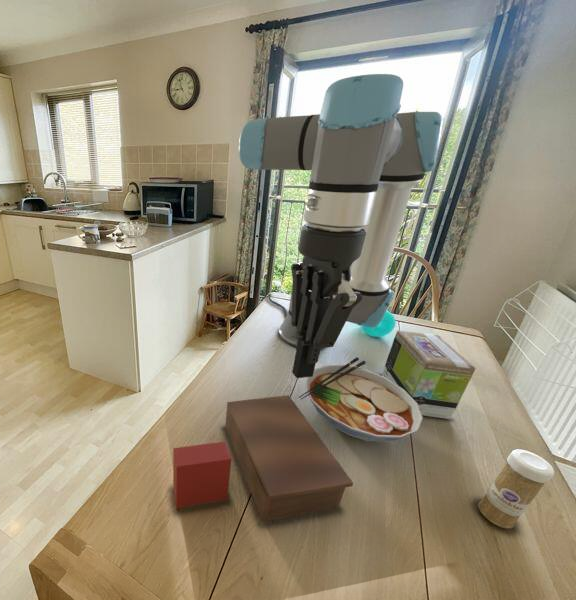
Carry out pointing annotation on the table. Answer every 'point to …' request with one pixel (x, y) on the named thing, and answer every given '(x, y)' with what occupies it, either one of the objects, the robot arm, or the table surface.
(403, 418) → the ramen bowl
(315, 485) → the lid
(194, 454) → the book
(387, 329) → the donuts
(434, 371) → the tea box
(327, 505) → the chest
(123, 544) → the table surface
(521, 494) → the sprinkles bottle
